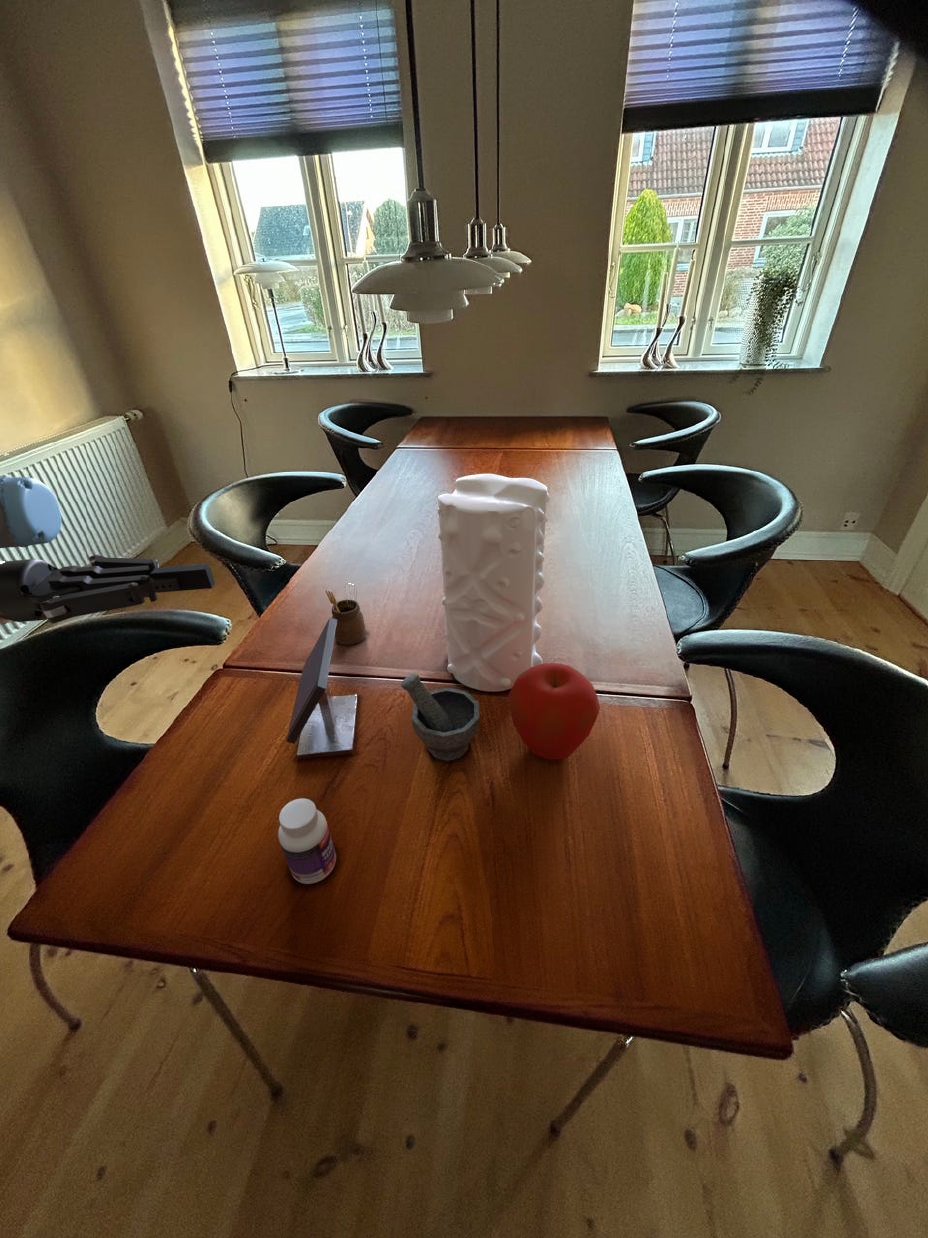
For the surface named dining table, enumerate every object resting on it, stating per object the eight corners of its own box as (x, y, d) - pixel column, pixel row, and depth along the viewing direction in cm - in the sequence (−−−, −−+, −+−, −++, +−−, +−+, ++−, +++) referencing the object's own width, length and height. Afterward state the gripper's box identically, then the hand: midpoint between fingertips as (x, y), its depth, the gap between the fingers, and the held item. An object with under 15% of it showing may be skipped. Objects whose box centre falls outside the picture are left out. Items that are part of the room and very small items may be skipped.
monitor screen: (285, 741, 72) (316, 685, 67) (302, 667, 85) (329, 616, 81) (294, 744, 73) (326, 689, 68) (309, 670, 86) (337, 619, 81)
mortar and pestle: (489, 729, 81) (488, 668, 74) (470, 776, 74) (467, 713, 67) (421, 714, 84) (414, 654, 77) (396, 758, 77) (386, 696, 70)
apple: (491, 746, 78) (490, 673, 70) (542, 705, 85) (546, 634, 77) (558, 795, 71) (566, 718, 63) (608, 746, 77) (621, 671, 69)
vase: (428, 679, 91) (412, 502, 73) (468, 628, 103) (462, 466, 85) (522, 705, 85) (529, 520, 67) (552, 649, 97) (564, 478, 79)
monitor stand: (297, 759, 77) (284, 717, 72) (308, 703, 87) (297, 663, 82) (352, 754, 78) (343, 711, 73) (357, 698, 88) (349, 658, 83)
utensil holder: (372, 632, 103) (364, 579, 97) (351, 650, 99) (341, 595, 92) (349, 624, 106) (339, 572, 99) (327, 641, 101) (315, 587, 95)
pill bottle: (338, 877, 62) (323, 827, 57) (291, 891, 61) (271, 841, 55) (334, 838, 66) (320, 787, 61) (290, 850, 65) (272, 799, 60)
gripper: (54, 591, 72) (232, 576, 74) (-6, 648, 61) (204, 630, 63) (26, 540, 68) (216, 526, 69) (-43, 592, 57) (183, 574, 59)
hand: (210, 575), depth 66 cm, fingers closed
